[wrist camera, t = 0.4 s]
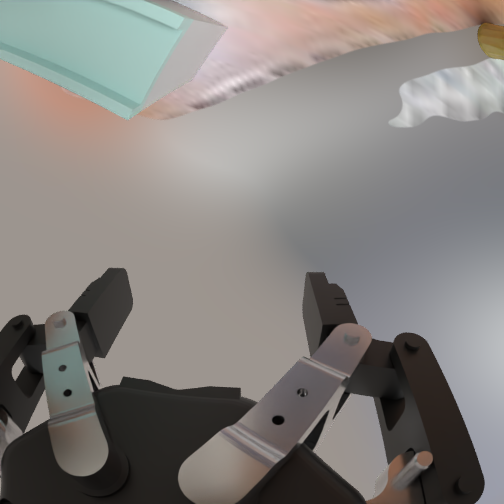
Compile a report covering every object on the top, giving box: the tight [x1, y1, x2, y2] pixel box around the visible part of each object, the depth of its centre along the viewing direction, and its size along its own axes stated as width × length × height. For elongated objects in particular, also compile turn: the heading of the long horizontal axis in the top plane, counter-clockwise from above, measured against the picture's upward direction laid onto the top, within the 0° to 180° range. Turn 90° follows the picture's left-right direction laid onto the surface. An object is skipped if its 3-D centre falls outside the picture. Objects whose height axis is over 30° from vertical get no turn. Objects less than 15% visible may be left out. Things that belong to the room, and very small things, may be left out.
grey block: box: [141, 0, 228, 111], centre depth 21 cm, size 26×9×18 cm, turn 56°
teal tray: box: [0, 0, 194, 120], centre depth 14 cm, size 26×9×2 cm, turn 56°
